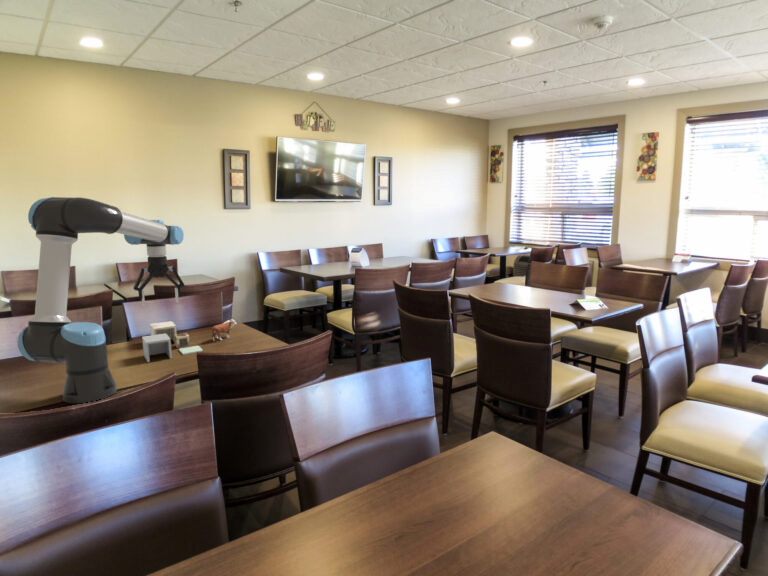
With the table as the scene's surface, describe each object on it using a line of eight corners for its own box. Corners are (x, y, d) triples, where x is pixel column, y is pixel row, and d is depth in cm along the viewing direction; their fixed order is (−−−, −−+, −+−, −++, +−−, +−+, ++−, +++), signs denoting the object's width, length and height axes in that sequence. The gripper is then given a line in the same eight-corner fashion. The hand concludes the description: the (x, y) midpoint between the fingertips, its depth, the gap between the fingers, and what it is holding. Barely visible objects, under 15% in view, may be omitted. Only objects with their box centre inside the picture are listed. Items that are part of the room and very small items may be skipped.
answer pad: (203, 351, 207) (203, 350, 207) (182, 354, 202) (182, 353, 202) (198, 346, 213) (198, 345, 213) (178, 350, 209) (178, 348, 209)
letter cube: (190, 346, 214) (189, 335, 213) (177, 348, 211) (176, 337, 210) (187, 343, 218) (186, 332, 217) (175, 345, 215) (174, 334, 214)
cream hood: (177, 343, 219) (176, 325, 217) (155, 346, 214) (153, 328, 213) (173, 338, 227) (171, 321, 226) (151, 341, 222) (150, 323, 221)
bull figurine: (239, 335, 230) (238, 318, 229) (215, 342, 219) (214, 325, 218) (232, 334, 233) (231, 317, 231) (209, 341, 222) (207, 323, 220)
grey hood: (172, 358, 198) (170, 339, 197) (147, 362, 194) (145, 342, 192) (167, 351, 207) (165, 333, 205) (143, 355, 202) (142, 336, 200)
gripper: (185, 253, 223) (188, 299, 227) (123, 256, 210) (128, 305, 214) (189, 255, 217) (192, 302, 221) (125, 258, 204) (130, 308, 207)
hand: (160, 304), depth 217 cm, fingers open, 13 cm apart
